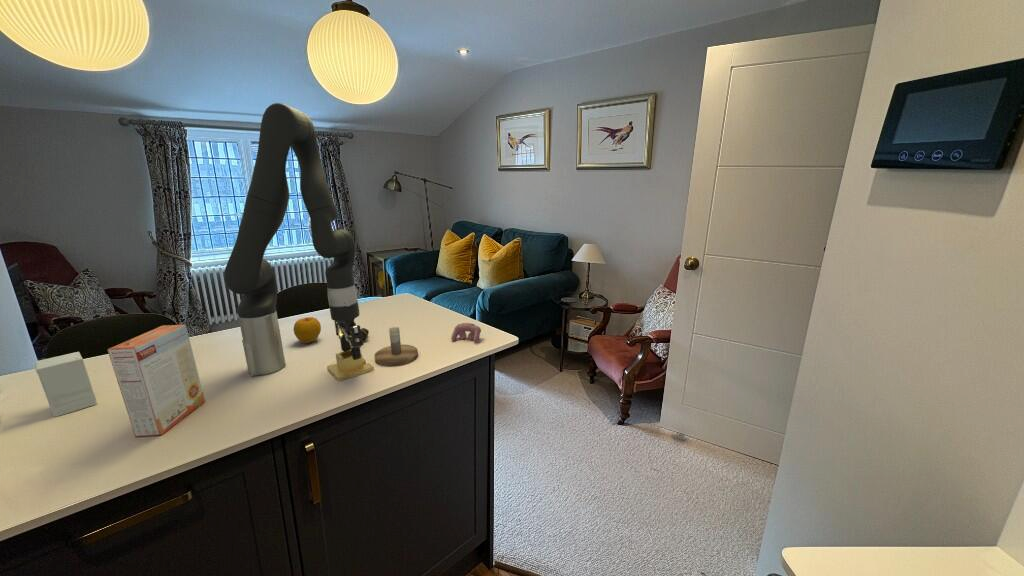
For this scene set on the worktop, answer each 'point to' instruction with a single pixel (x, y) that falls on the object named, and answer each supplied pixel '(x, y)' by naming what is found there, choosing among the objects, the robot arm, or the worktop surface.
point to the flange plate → (348, 366)
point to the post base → (398, 358)
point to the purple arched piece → (464, 327)
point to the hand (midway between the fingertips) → (351, 354)
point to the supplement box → (66, 383)
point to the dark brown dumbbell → (364, 335)
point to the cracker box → (157, 379)
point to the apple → (307, 329)
